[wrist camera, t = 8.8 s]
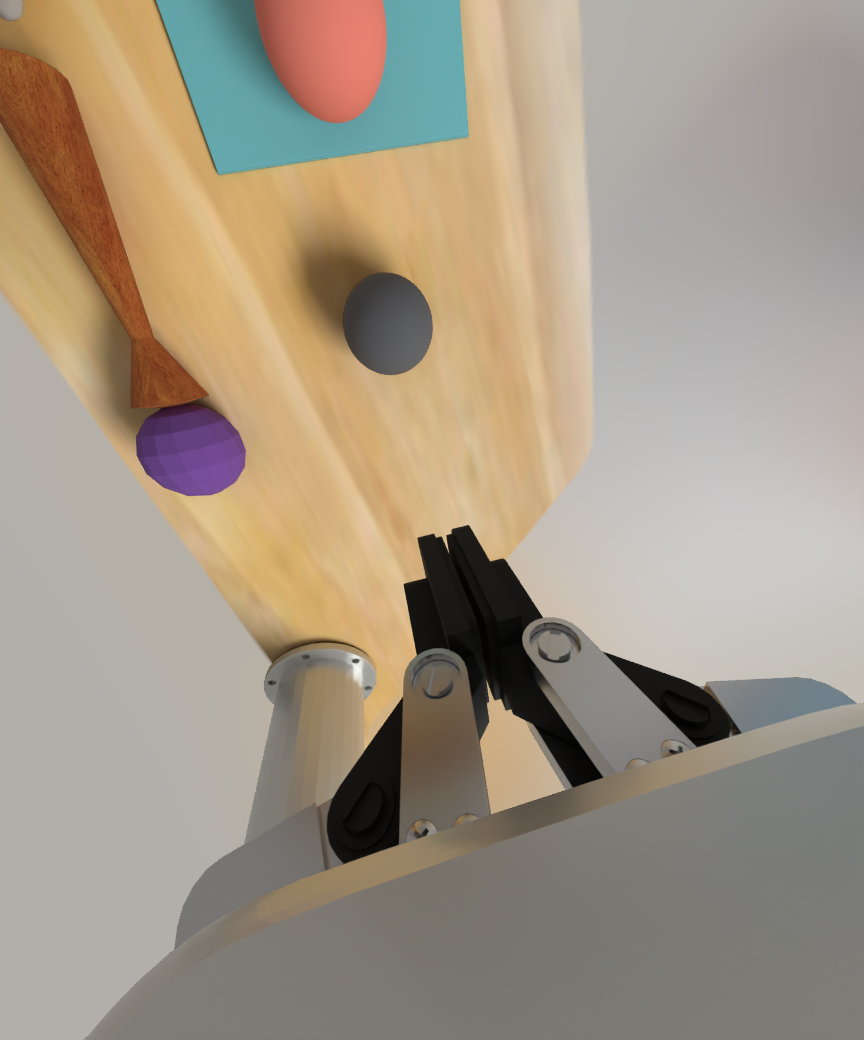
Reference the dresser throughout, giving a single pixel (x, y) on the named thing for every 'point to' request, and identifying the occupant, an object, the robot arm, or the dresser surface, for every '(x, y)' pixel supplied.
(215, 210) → the dresser surface
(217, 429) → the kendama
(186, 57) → the teal mark
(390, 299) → the dark gray ball
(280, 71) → the red ball
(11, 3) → the gray statuette
